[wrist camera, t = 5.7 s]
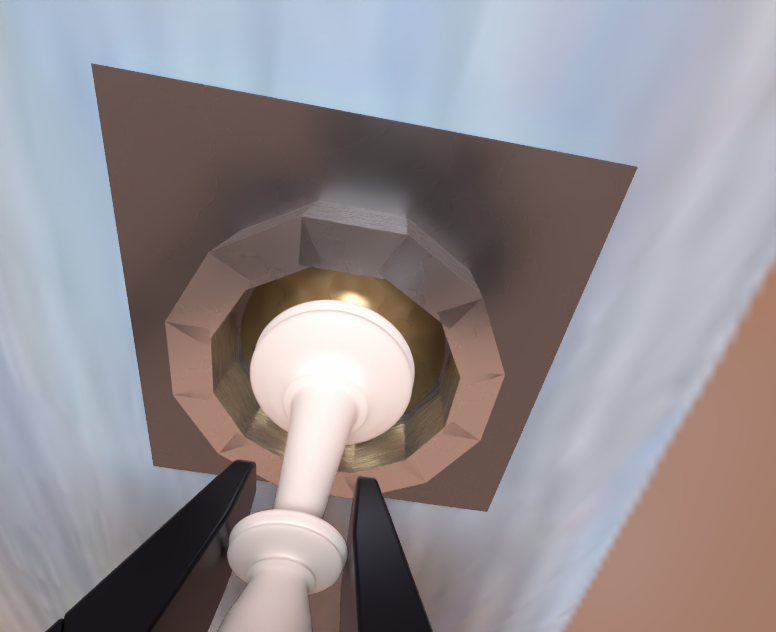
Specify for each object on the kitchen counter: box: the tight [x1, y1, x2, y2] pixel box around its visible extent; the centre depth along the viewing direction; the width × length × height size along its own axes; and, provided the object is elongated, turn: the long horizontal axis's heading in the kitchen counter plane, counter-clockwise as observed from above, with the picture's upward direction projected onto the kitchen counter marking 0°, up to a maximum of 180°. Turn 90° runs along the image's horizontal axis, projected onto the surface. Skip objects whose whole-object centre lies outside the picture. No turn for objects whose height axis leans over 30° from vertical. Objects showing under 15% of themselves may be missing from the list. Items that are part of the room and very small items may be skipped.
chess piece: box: [217, 300, 415, 632], centre depth 7 cm, size 5×5×10 cm
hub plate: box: [91, 63, 637, 512], centre depth 13 cm, size 14×14×3 cm
